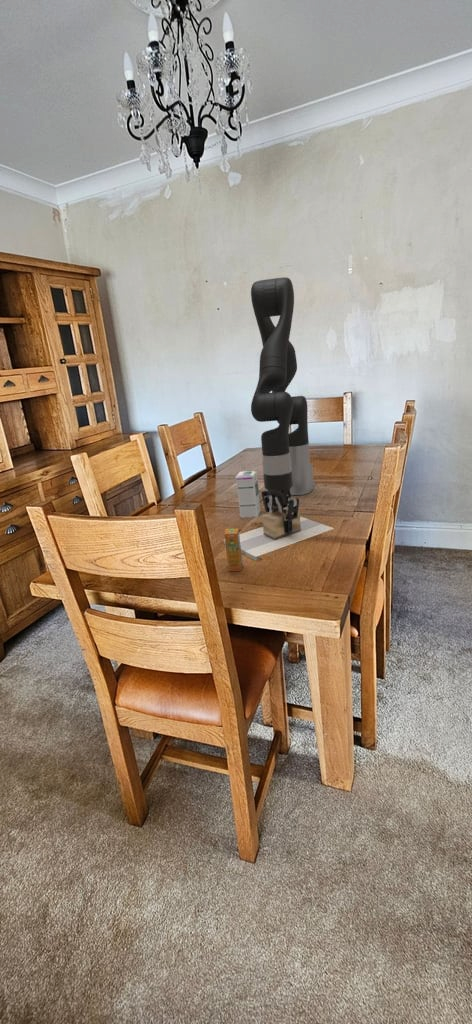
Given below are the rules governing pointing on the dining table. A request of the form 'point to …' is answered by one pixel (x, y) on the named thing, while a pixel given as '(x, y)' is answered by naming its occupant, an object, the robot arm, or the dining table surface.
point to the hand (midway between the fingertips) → (282, 530)
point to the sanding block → (278, 524)
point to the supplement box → (233, 549)
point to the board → (260, 544)
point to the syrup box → (248, 494)
